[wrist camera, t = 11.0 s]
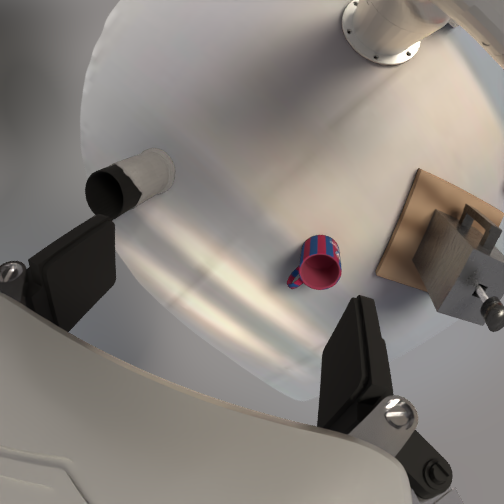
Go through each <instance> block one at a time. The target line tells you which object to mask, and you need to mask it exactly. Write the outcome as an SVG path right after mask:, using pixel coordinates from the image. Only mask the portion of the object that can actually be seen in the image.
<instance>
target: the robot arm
mask: <svg viewBox="0 0 504 504" xmlns="http://www.w3.org/2000/svg"><path fill="white" fill-rule="evenodd" d="M355 5H357V6H355ZM450 18H452V19H454V20H455V21H456V22H457V23H458V24H459V25H460V26H461V27H462V28H463V29H465V30H466V31H467V32H468V33H469V34H470V35H471V36H472V37H473V38H474V39H475V40H476V41H477V42H478V43H479V44H480V45H481V46H482V47H483V48H484V49H485V50H486V52H487V53H488V54H489V55H490V56H491V57H492V58H493V59H494V60H495V61H496V62H497V63H498V64H499V65H500V66H501V67H502V68H503V69H504V0H352V1H351V2H350V3H349V4H348V5H347V7H346V8H345V10H344V13H343V16H342V29H343V33H344V35H345V37H346V39H347V41H348V42H349V44H350V45H351V46H352V47H353V49H354V50H355V51H356V52H358V53H359V54H360V55H361V56H363V57H365V58H366V59H368V60H370V61H372V62H375V63H378V64H382V65H398V64H401V63H404V62H406V61H408V60H410V59H411V58H412V57H413V56H414V55H415V54H416V53H417V51H418V49H419V47H420V42H421V40H422V39H424V38H426V37H427V36H429V35H431V34H432V33H434V32H435V31H437V30H439V29H440V28H442V27H443V26H445V25H446V24H447V23H448V21H449V20H450ZM347 32H350V34H348V33H347ZM406 53H407V54H408V56H407V55H406ZM374 56H375V57H376V58H377V59H374ZM28 261H29V265H30V267H29V268H28V269H26V266H25V264H23V263H22V262H19V261H9V262H6V263H3V264H2V265H0V504H464V503H463V501H462V499H461V498H460V496H459V494H458V492H457V490H456V488H453V489H451V487H450V484H451V482H452V470H451V467H450V465H449V464H448V462H447V461H446V460H445V459H444V458H443V457H442V456H441V455H440V454H439V453H438V452H437V451H436V450H435V449H434V448H433V447H432V446H431V445H430V444H429V443H428V442H427V441H426V440H425V439H424V438H423V437H422V436H421V435H420V434H419V433H418V432H417V431H416V430H415V429H416V427H417V425H418V414H417V411H416V409H415V407H414V406H413V405H412V403H411V402H410V401H408V400H407V399H405V398H404V397H401V396H398V395H393V388H392V381H391V374H390V368H389V362H388V356H387V350H386V344H385V341H384V339H382V337H381V332H380V326H379V321H378V316H377V311H376V307H375V302H374V299H371V298H368V297H364V296H361V295H358V296H357V298H354V297H353V298H352V299H351V300H350V302H349V304H348V306H347V308H346V310H345V312H344V313H343V315H342V317H341V319H340V321H339V323H338V325H337V327H336V328H335V330H334V332H333V334H332V336H331V337H330V339H329V341H328V343H327V344H326V346H325V348H324V351H323V354H322V367H321V384H320V398H319V410H318V421H317V427H316V426H312V425H308V424H303V423H299V422H295V421H291V420H287V419H283V418H279V417H276V416H272V415H268V414H265V413H261V412H257V411H254V410H251V409H247V408H244V407H240V406H237V405H234V404H231V403H228V402H225V401H222V400H219V399H215V398H213V397H210V396H207V395H204V394H201V393H199V392H196V391H193V390H190V389H188V388H185V387H183V386H180V385H177V384H175V383H172V382H169V381H167V380H165V379H162V378H160V377H158V376H155V375H153V374H151V373H148V372H146V371H143V370H142V369H139V368H137V367H135V366H132V365H131V364H128V363H126V362H124V361H122V360H120V359H118V358H116V357H114V356H112V355H110V354H108V353H106V352H104V351H102V350H100V349H98V348H96V347H94V346H92V345H90V344H88V343H86V342H85V341H83V340H81V339H79V338H77V337H76V336H74V335H72V334H70V333H68V332H69V331H70V330H71V329H72V328H73V327H74V326H75V324H76V323H77V322H78V321H79V320H80V319H81V318H82V317H83V316H84V315H85V314H86V313H87V312H88V311H89V310H90V309H91V308H92V307H93V305H94V304H95V303H96V302H97V301H98V300H99V299H100V298H101V297H102V296H103V295H104V294H105V293H106V292H107V291H108V290H109V289H110V288H111V287H112V286H113V285H114V283H115V280H116V268H115V267H116V266H115V224H114V223H113V222H112V219H111V218H110V217H107V216H104V215H101V214H97V215H95V216H93V217H92V218H90V219H89V220H87V221H85V222H84V223H82V224H81V225H79V226H77V227H76V228H74V229H73V230H71V231H70V232H68V233H67V234H65V235H63V236H62V237H60V238H59V239H57V240H56V241H54V242H53V243H51V244H50V245H48V246H47V247H46V248H44V249H43V250H41V251H40V252H38V253H37V254H36V255H34V256H33V257H31V258H30V259H29V260H28Z"/></svg>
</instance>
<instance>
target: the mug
mask: <svg viewBox="0 0 504 504" xmlns="http://www.w3.org/2000/svg"><path fill="white" fill-rule="evenodd" d="M341 271H342V270H341V261H340V252H339V247H338V245H337V243H336V242H335V241H334V240H333V239H332V238H330V237H328V236H325V235H316V236H312V237H310V238H309V239H308V240H306V242H305V243H304V244H303V246H302V251H301V258H300V266H299V267H297V268H296V269H295V270H294V271H293V272H292V273H291V275H290V276H289V278H288V280H287V285H288V287H289V288H291V289H295V288H297V287H299V286H300V285H301V284H303V283H304V284H305V285H307V286H308V287H310V288H312V289H316V290H324V289H328V288H330V287H332V286H334V285H335V284H336V283H337V282H338V281H339V279H340V277H341ZM298 274H299V276H300V278H299V279H298V280H297V281H295V282H294V283H292V282H293V280H294V279H295V277H296V276H297V275H298Z"/></svg>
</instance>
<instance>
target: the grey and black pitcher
mask: <svg viewBox="0 0 504 504" xmlns="http://www.w3.org/2000/svg"><path fill="white" fill-rule="evenodd" d="M174 179H175V168H174V164H173V161H172V160H171V158H170V157H169V155H168V154H166V153H165V152H164V151H162V150H160V149H156V148H150V149H147V150H145V151H143V152H142V153H141V154H139V155H136V156H133V157H130V158H127V159H125V160H122V161H119V162H116V163H114V164H112V165H110V166H109V167H106V168H103V169H101V170H98V171H96V172H94V173H92V174H91V175H90V177H89V178H88V180H87V183H86V188H85V194H86V200H87V202H88V205H89V207H90V209H91V210H92V211H93V213H94V214H95V215H97V214H101V215H104V216H107V217H110V218H111V219H112V220H113V219H116V218H117V217H119V216H120V215H122V214H123V213H125V212H127V211H128V210H130V209H133V208H135V207H137V206H138V205H140V204H141V203H143V202H145V201H146V200H148V199H149V198H151V197H153V196H154V195H156V194H161V193H164V192H166V191H167V190H168V189H169V188H170V187H171V186H172V184H173V182H174ZM95 215H94V216H95Z"/></svg>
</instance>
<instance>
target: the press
mask: <svg viewBox="0 0 504 504" xmlns="http://www.w3.org/2000/svg"><path fill="white" fill-rule="evenodd" d="M463 210H464V211H463V213H462V215H461V218H460V220H458V219H456V218H454V217H452V216H450V215H448V214H446V213H443V212H441V211H439V210H437V209H435V211H434V213H433V216H432V218H431V220H430V223H429V225H428V227H427V229H426V232H425V234H424V236H423V238H422V240H421V242H420V244H419V246H418V249H417V251H416V253H415V255H414V257H413V259H412V261H413V263H414V265H415V267H416V269H417V271H418V273H419V275H420V277H421V279H422V281H423V283H424V285H425V287H426V289H427V291H428V293H429V295H430V297H431V300H432V302H433V304H434V306H435V308H436V311H437V312H439V313H442V314H446V315H449V316H452V317H456V318H459V319H462V320H466V321H469V322H472V323H476V324H479V325H484V323H485V321H484V319H483V317H482V315H481V313H480V309H481V306H482V304H483V302H482V300H481V298H480V297H479V295H478V294H477V292H476V291H475V289H476V288H477V286H478V284H479V285H480V286H481V287H482V289H483V290H484V292H485V293H486V295H487V296H488V298H490V297H493V296H495V297H498V298H499V300H500V299H501V298H502V296H503V294H504V255H503V254H502V253H501V252H500V251H499V250H498V249H497V248H496V247H495V244H496V242H497V240H498V238H499V237H500V234H501V232H502V230H501V229H500V228H499V227H498V226H497V225H495V224H494V223H493V222H492V221H491V220H489V219H488V218H487V217H486V216H484V215H483V214H482V213H481V212H479V211H478V210H477V209H475V208H474V207H472V206H470V205H468V204H465V207H464V209H463ZM474 220H475V221H476V222H478V223H479V224H480V225H481V226H482V227H483V228H484V229H485V233H484V235H483V234H482V233H481V232H480V231H479V230H478V229H477V228H475V227H473V226H471V225H472V223H473V221H474Z"/></svg>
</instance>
